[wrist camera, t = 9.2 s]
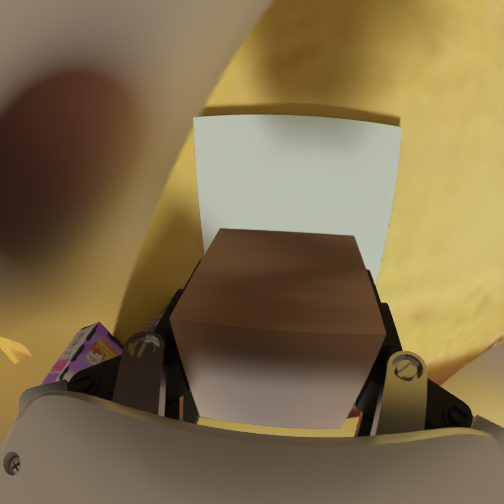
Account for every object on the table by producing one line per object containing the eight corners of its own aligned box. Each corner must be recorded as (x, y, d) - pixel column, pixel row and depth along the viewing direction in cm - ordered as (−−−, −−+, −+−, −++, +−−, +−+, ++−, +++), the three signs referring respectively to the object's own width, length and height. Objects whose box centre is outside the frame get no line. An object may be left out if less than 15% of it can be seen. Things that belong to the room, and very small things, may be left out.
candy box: (79, 328, 31) (13, 422, 17) (100, 319, 29) (26, 430, 14) (145, 393, 36) (104, 485, 22) (172, 391, 34) (131, 495, 19)
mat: (398, 126, 15) (401, 127, 14) (369, 294, 21) (371, 299, 21) (196, 116, 17) (193, 117, 16) (210, 283, 23) (208, 287, 22)
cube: (353, 235, 10) (386, 334, 6) (334, 332, 12) (339, 428, 8) (219, 228, 11) (169, 317, 6) (228, 325, 13) (200, 416, 9)
